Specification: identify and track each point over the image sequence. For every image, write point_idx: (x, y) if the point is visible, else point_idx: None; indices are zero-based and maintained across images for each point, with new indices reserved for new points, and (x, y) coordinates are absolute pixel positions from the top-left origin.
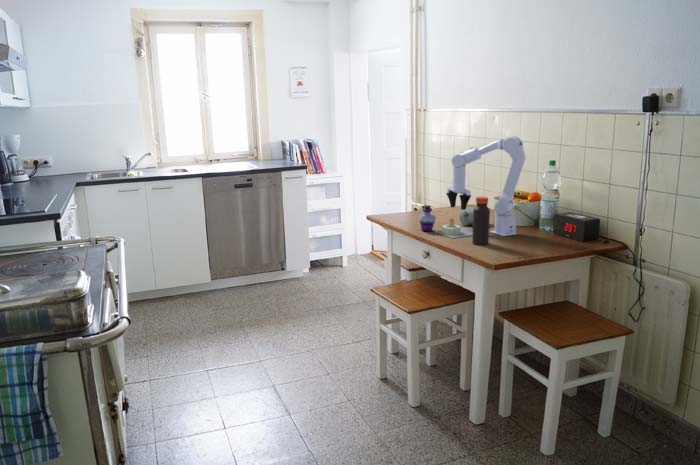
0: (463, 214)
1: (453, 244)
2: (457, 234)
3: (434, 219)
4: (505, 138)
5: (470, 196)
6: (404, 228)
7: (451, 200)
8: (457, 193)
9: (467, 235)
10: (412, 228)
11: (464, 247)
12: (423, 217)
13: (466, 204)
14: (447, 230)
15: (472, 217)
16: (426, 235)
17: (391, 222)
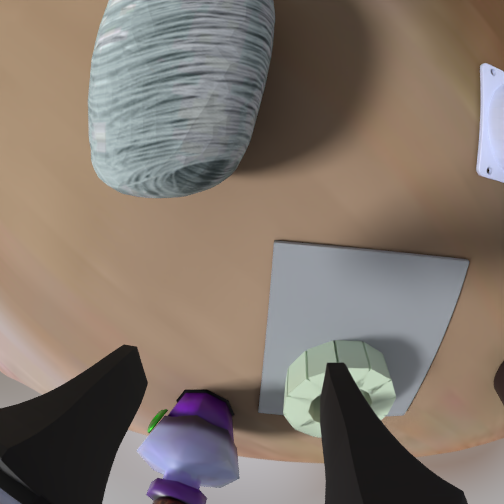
0: (175, 193)
1: (445, 436)
2: None
3: (230, 453)
4: None
5: (458, 502)
6: (133, 426)
7: (112, 442)
8: (21, 448)
9: (436, 349)
10: (143, 413)
11: (486, 423)
12: (211, 486)
13: (365, 411)
14: None
15: (254, 124)
16: (284, 448)
17: (38, 383)
